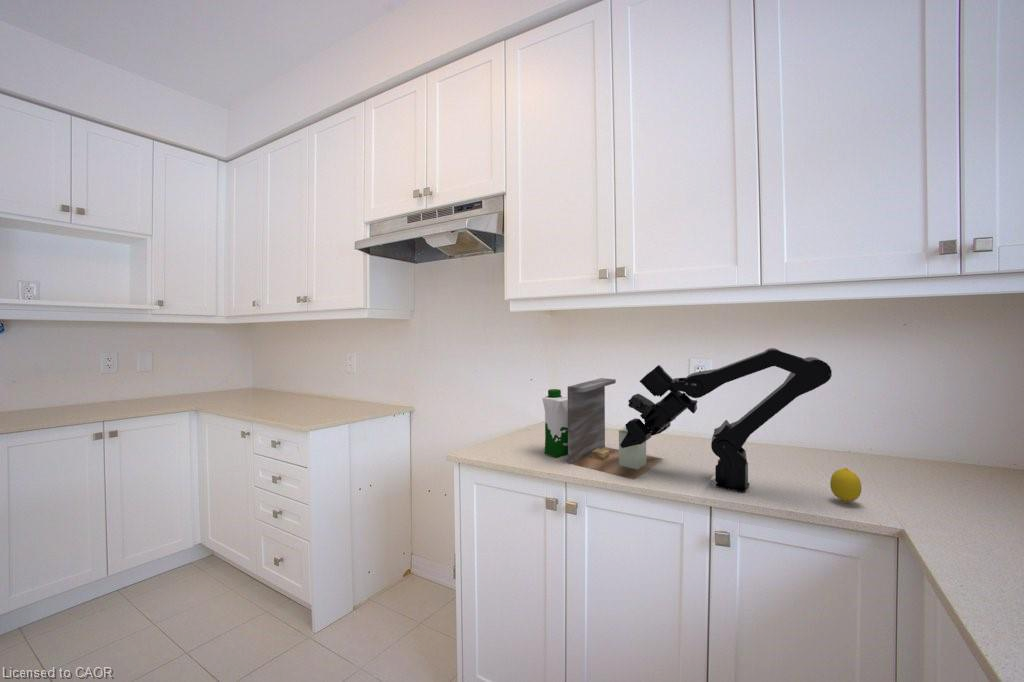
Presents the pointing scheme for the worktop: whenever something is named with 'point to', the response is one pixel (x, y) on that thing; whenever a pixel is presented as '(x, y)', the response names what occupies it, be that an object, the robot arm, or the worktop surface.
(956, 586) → the worktop surface
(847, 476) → the lemon
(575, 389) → the dock
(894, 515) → the worktop surface
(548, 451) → the milk carton
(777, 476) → the worktop surface
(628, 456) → the pale green lidded box
